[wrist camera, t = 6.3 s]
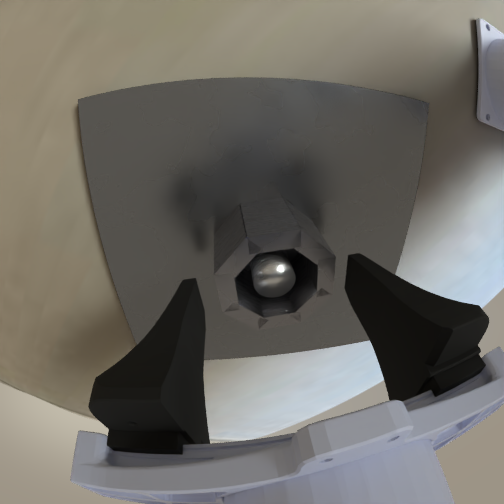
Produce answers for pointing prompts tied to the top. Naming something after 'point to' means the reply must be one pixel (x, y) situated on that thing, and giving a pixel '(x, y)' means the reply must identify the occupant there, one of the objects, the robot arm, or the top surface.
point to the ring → (266, 240)
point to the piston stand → (248, 191)
